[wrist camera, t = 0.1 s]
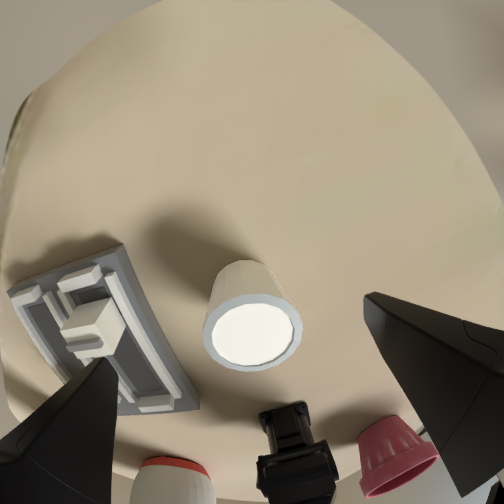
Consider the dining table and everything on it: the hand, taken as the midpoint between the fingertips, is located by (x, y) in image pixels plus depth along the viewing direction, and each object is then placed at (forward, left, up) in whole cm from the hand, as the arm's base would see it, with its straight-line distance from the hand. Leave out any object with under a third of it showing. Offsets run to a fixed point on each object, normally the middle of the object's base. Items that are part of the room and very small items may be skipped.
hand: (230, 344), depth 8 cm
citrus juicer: (-41, +22, -15) cm, 49 cm away
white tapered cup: (-6, 0, -15) cm, 16 cm away
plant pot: (-44, -16, -15) cm, 49 cm away
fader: (-4, +13, -12) cm, 18 cm away
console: (-9, +17, -15) cm, 24 cm away
